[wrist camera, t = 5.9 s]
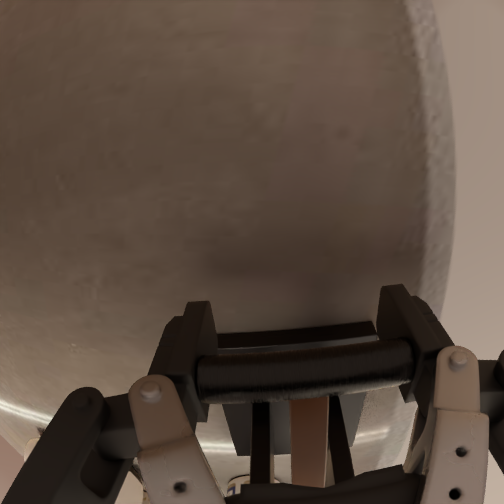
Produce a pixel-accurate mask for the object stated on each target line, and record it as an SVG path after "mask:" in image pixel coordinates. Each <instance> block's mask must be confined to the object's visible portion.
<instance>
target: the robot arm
mask: <svg viewBox="0 0 504 504" xmlns="http://www.w3.org/2000/svg"><path fill="white" fill-rule="evenodd" d="M376 328H377V334H378V337H379V340H383V339H390V338H396V337H402V336H404V337H407V338H408V339H409V340H410V342H411V344H412V346H413V349H414V354H415V374H414V377H413V379H412V381H411V382H410V383H408V384H404V385H399V389H400V391H401V394H402V396H403V399H404V402H405V403H408V402H412V401H416V402H417V404H418V408H417V410H416V413H415V419H414V424H413V429H412V434H411V439H410V443H409V448H408V453H407V457H406V460H405V463H404V465H403V466H402V464H400V465H396V466H392V467H387V468H383V469H378V470H374V471H369V472H364V473H362V474H360V475H357V476H355V477H352V478H350V479H348V480H345V481H342V482H340V483H337V484H335V485H332V486H329V487H324V488H320V487H311V486H302V485H294V484H287V483H265V484H241V487H240V493H238V494H234V495H230V496H227V497H225V496H224V494H223V492H222V490H221V488H220V487H219V485H218V483H217V481H216V479H215V477H214V475H213V472H212V470H211V468H210V466H209V464H208V462H207V460H206V458H205V455H204V453H203V451H202V449H201V446H200V444H199V442H198V440H197V437H196V435H195V429H196V423H197V422H207V417H208V411H209V404H203V403H201V402H200V401H199V398H198V396H197V392H196V385H195V369H196V363H197V359H198V357H199V356H201V355H217V351H218V339H217V333H216V328H215V323H214V319H213V314H212V309H211V305H210V302H209V301H196V302H188V303H187V305H186V308H185V311H184V314H183V316H175V317H174V318H173V319H172V320H171V321H170V322H169V323H168V324H167V325H166V326H165V329H164V331H163V334H162V338H161V339H160V342H159V346H158V347H157V350H156V353H155V356H154V358H153V361H152V364H151V367H150V369H149V372H148V375H147V376H145V377H142V378H140V379H139V380H137V381H136V382H135V383H134V384H133V385H132V386H131V388H130V390H129V393H126V394H122V395H117V396H111V397H106V398H104V397H103V395H102V394H101V392H100V391H99V390H97V389H96V388H93V387H82V388H79V389H77V390H75V391H73V392H72V393H70V394H69V395H68V396H67V398H66V399H65V400H64V402H63V403H62V405H61V406H60V408H59V409H58V411H57V412H56V414H55V415H54V417H53V419H52V420H51V422H50V423H49V425H48V426H47V428H46V429H45V431H44V432H43V434H42V436H41V437H40V439H39V440H38V442H37V444H36V445H35V447H34V448H33V450H32V452H31V453H30V455H29V457H28V458H27V460H26V461H25V463H24V465H23V467H22V468H21V470H20V472H19V473H18V475H17V477H16V478H15V480H14V482H13V484H12V486H11V487H10V489H9V491H8V492H7V494H6V496H5V498H4V499H3V501H2V503H1V504H115V502H116V499H117V497H118V495H119V492H120V490H121V488H122V485H123V483H124V481H125V478H126V476H127V474H128V472H129V469H130V467H131V465H132V463H133V460H134V458H135V457H137V459H138V463H139V467H140V471H141V474H142V478H143V481H144V484H145V488H146V491H147V494H148V497H149V501H150V504H483V502H484V495H485V487H486V477H487V465H488V449H489V450H490V452H491V454H492V455H493V457H494V459H495V460H496V462H497V464H498V466H499V467H500V469H501V471H502V472H503V474H504V350H503V351H502V352H501V354H500V356H499V358H498V360H477V358H476V356H475V355H474V354H473V353H472V352H471V351H470V350H468V349H466V348H464V347H461V346H455V345H454V343H453V342H452V340H451V339H450V337H449V335H448V334H447V332H446V331H445V329H444V328H443V326H442V325H441V323H440V322H439V321H438V319H437V317H436V316H435V314H433V312H432V310H431V309H430V307H429V306H428V304H427V303H426V302H424V301H423V300H422V299H420V298H419V297H417V296H411V295H410V294H409V292H408V291H407V290H406V288H405V287H404V285H403V284H397V285H388V286H382V288H381V291H380V299H379V306H378V314H377V321H376Z"/></svg>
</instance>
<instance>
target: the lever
mask: <svg viewBox="0 0 504 504" xmlns="http://www.w3.org/2000/svg"><path fill="white" fill-rule="evenodd" d="M414 374H415V354H414V349H413V346H412V344H411V342H410V340H409V339H408V338H407V337H404V336H402V337H396V338H390V339H383V340H376V341H369V342H362V343H355V344H347V345H339V346H330V347H321V348H311V349H300V350H289V351H276V352H261V353H243V354H219V355H201V356H199V357H198V359H197V363H196V369H195V385H196V392H197V396H198V398H199V401H200V402H201V403H203V404H236V403H263V402H279V401H289V423H290V447H291V475H292V484H294V485H302V486H311V487H320V488H324V487H325V477H326V461H327V442H328V415H329V397H331V396H339V395H346V394H353V393H360V392H366V391H372V390H378V389H383V388H389V387H394V386H399V385H404V384H408V383H410V382H411V381H412V379H413V377H414Z"/></svg>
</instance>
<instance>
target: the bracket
mask: <svg viewBox="0 0 504 504" xmlns="http://www.w3.org/2000/svg"><path fill="white" fill-rule="evenodd" d="M377 335H378V334H377V332H376V330H375V327H374V325H373V323H372V322H363V323H355V324H347V325H338V326H329V327H319V328H309V329H298V330H286V331H273V332H259V333H242V334H222V335H217V339H218V351H217V355H219V354H243V353H261V352H276V351H289V350H300V349H311V348H321V347H330V346H339V345H347V344H355V343H362V342H369V341H376V340H377ZM365 396H366V392H360V393H353V394H346V395H339V396H331V397H329V415H328V442H327V461H326V477H325V487H329V486H332V485H335V484H337V483H340V482H342V481H345V480H348V479H350V478H352V477H355V475H354V470H353V464H352V459H351V453H350V448H349V447H352V446H353V443H354V439H355V435H356V432H357V428H358V424H359V420H360V416H361V412H362V408H363V404H364V400H365ZM222 406H223V409H224V413H225V416H226V420H227V423H228V427H229V430H230V433H231V437H232V440H233V443H234V446H235V450H236V453H237V456H251V457H250V484H265V483H274V455H280V454H291V447H290V423H289V401H279V402H263V403H236V404H222Z"/></svg>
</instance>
